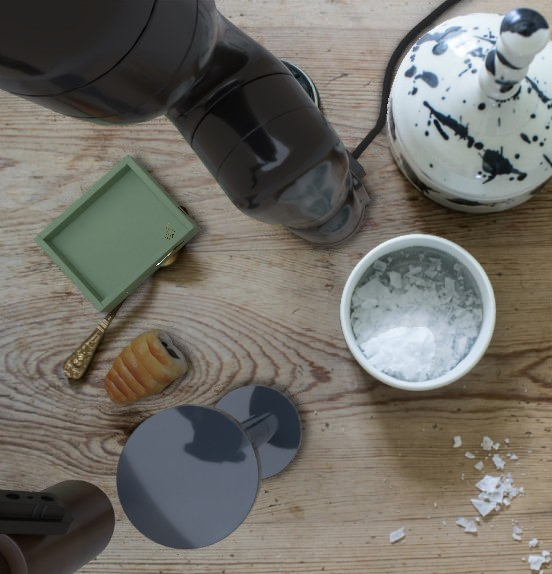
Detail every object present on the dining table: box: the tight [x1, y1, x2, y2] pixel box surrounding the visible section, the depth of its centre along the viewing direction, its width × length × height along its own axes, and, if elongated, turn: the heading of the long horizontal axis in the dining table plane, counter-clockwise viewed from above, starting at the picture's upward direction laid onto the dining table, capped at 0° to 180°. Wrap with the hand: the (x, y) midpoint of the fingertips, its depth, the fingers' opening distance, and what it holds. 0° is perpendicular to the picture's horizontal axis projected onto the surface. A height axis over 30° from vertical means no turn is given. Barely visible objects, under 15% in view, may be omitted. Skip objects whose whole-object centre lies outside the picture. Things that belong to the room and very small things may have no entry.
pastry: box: [103, 329, 189, 405], centre depth 71 cm, size 9×7×4 cm
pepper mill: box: [0, 479, 116, 574], centre depth 34 cm, size 5×5×10 cm
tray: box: [33, 154, 202, 313], centre depth 72 cm, size 15×12×2 cm
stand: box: [115, 383, 303, 550], centre depth 62 cm, size 12×12×21 cm
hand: (44, 569), depth 33 cm, fingers closed on pepper mill, 5 cm apart
